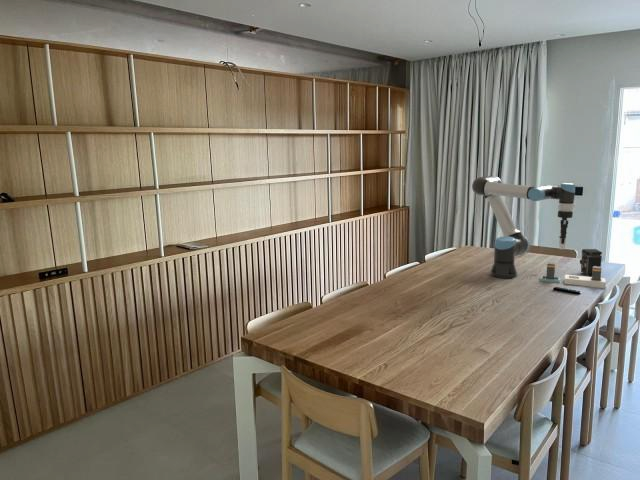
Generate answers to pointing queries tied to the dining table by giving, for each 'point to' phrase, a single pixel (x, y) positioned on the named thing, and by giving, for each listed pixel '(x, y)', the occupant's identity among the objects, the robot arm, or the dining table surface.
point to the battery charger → (587, 279)
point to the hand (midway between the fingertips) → (561, 246)
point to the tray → (556, 279)
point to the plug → (550, 271)
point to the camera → (590, 260)
